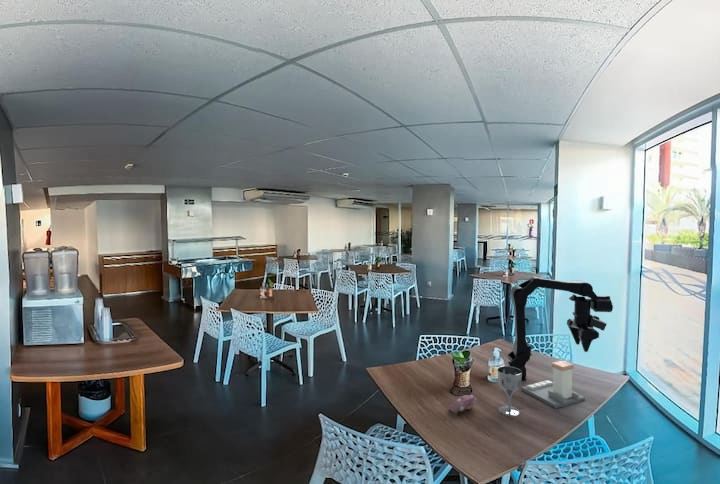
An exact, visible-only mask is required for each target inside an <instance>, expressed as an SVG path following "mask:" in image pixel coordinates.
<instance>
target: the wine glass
mask: <svg viewBox="0 0 720 484" xmlns="http://www.w3.org/2000/svg"><path fill="white" fill-rule="evenodd" d="M496 372H497V380H498V383H499V386H500V388H501V389H503V391H504V392H505V394H506V396H507V401H508V405H503V406H500V407H499V408H498V411H499V412H500V413H501V412H502V413H503V414H502V413H501V414H502V415H504V414H505V415H504V416H507V415H508V416H507V417H519V416H520V415H521V411H520V410H519V409H518V408H516V407H514V406H511V405H512V397H513V394H514V393H515V392H517V391H518V390H519V389H520V386H521V383H522V380H521V370H520V369H518V368H515V367H511V366H508V365H502V366H498V367H497V371H496ZM518 415H519V416H518Z"/></svg>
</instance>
